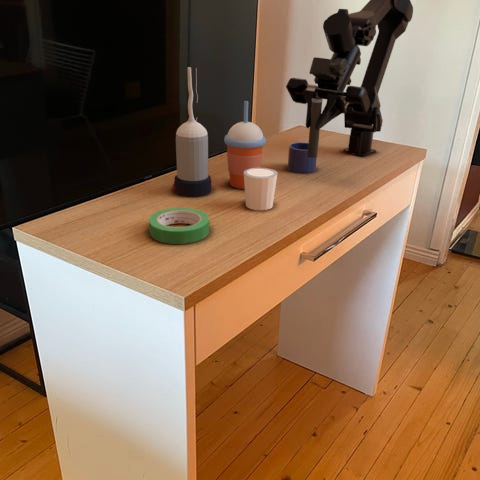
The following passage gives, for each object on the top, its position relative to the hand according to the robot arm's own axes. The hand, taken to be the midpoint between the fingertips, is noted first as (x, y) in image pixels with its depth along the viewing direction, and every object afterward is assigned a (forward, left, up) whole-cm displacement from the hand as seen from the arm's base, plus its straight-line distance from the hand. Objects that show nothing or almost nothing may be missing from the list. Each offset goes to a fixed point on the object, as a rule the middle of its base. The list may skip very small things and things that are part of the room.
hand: (311, 127), depth 127 cm
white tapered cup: (+19, +3, -12) cm, 23 cm away
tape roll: (+40, +2, -12) cm, 42 cm away
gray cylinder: (-1, 0, -7) cm, 7 cm away
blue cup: (-7, -7, -12) cm, 15 cm away
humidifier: (+23, -13, -12) cm, 30 cm away
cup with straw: (+12, -8, -12) cm, 19 cm away
